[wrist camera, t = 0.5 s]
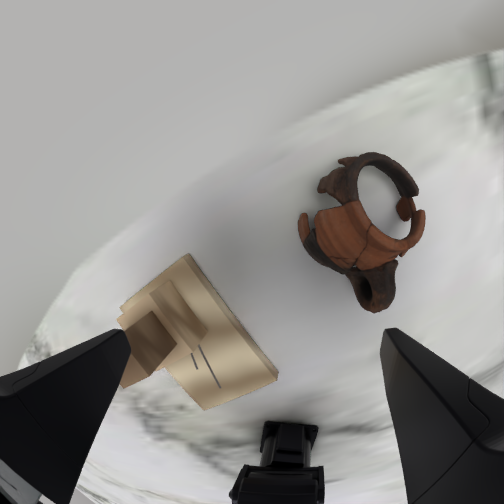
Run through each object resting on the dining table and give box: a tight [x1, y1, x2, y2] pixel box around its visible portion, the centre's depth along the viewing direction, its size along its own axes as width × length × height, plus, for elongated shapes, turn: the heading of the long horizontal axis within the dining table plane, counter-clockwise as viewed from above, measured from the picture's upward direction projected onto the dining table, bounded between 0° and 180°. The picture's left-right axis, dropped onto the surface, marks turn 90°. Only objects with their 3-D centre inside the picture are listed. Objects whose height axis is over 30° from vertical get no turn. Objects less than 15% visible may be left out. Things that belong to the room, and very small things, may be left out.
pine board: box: [120, 254, 278, 410], centre depth 27 cm, size 15×10×2 cm, turn 36°
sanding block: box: [116, 281, 208, 388], centre depth 21 cm, size 6×5×9 cm
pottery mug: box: [298, 152, 425, 313], centre depth 20 cm, size 12×10×8 cm
